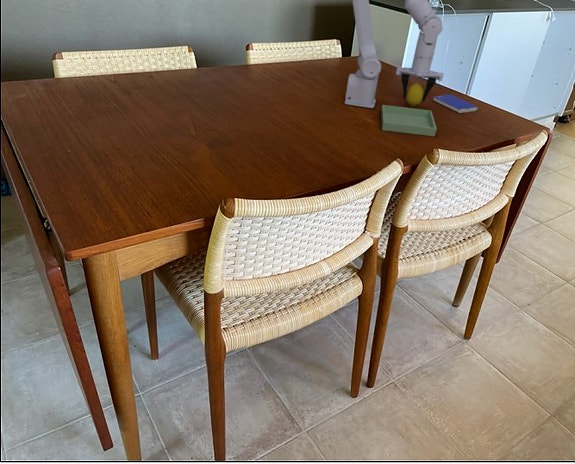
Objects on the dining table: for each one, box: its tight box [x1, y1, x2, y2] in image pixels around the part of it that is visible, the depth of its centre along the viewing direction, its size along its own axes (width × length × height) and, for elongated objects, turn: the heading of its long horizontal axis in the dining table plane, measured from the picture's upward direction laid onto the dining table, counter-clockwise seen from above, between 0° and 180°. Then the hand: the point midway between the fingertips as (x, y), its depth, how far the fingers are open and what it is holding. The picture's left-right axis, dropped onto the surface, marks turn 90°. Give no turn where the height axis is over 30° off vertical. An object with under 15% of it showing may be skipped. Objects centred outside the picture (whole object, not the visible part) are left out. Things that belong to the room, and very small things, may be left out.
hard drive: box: [432, 94, 478, 114], centre depth 158 cm, size 2×8×12 cm
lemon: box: [405, 82, 425, 108], centre depth 152 cm, size 6×6×8 cm
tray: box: [380, 104, 438, 137], centre depth 141 cm, size 15×15×2 cm
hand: (413, 99), depth 153 cm, fingers closed on lemon, 5 cm apart
